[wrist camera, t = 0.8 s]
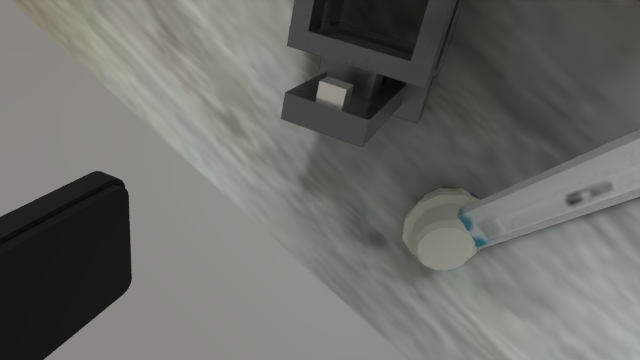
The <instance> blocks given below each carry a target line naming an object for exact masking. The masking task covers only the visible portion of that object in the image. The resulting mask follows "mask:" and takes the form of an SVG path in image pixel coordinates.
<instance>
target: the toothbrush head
mask: <svg viewBox="0 0 640 360" xmlns="http://www.w3.org/2000/svg"><path fill="white" fill-rule="evenodd" d="M637 197H640V129H638V130H636V131H634V132H631V133H629V134H627V135H625V136H622V137H620V138H618V139H616V140H613V141H611V142H609V143H607V144H605V145H602V146H600V147H598V148H596V149H593V150H591V151H589V152H587V153H584V154H582V155H580V156H578V157H575V158H573V159H571V160H569V161H566V162H564V163H562V164H560V165H557V166H555V167H553V168H551V169H549V170H546V171H544V172H542V173H540V174H537V175H535V176H533V177H531V178H528V179H526V180H524V181H522V182H519V183H517V184H515V185H513V186H510V187H508V188H506V189H504V190H501V191H499V192H497V193H495V194H493V195H490V196H488V197H486V198H484V199H481V200H479V199H478V198H477V196H476V195H474V194H472V193H470V192H468V191H466V190H464V189H462V188H442V187H440V188H438V189H436V190H434V191H431V192H429V193H427V194H425V195H424V197H423V198H422V199H421V200H420V201H418V202H417V203H416V205H415V206H414V207H413V208H412V209H411V211H410V212H409V213H408V214H407V215H406V217H405V220H404V228H403V236H402V239H403V241H404V243H405V244H406V246H407V248H408V249H409V251H410V253H411V254H412V255H414V256H416V257H418V259H419V261H420V262H421V263H422V264H424V265H426V266H428V267H430V268H432V269H433V270H446V271H449V270H452V269H454V268H457V267H460V266H462V265H464V264H465V263H466V262H467V261H468V260H469V259H470V258H471V257H473V256H474V255H475V254H476V253H477V252H478V251H479V250H480V249H482V248H485V247H488V246H491V245H494V244H497V243H500V242H503V241H506V240H510V239H513V238H516V237H519V236H522V235H525V234H528V233H531V232H534V231H537V230H540V229H543V228H546V227H549V226H552V225H555V224H558V223H561V222H564V221H567V220H570V219H573V218H576V217H579V216H582V215H585V214H589V213H592V212H595V211H598V210H601V209H604V208H607V207H610V206H613V205H616V204H619V203H622V202H625V201H628V200H631V199H634V198H637Z"/></svg>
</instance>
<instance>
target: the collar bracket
mask: <svg viewBox="0 0 640 360" xmlns="http://www.w3.org/2000/svg"><path fill="white" fill-rule="evenodd" d="M462 2H463V0H429V1H428V5H427V8H426V11H425V15H424V18H423V22H422V25H421V28H420V32H419V35H418V39H417V42H416V44H414V43H411V42H407V41H404V40H400V39H397V38H393V37H390V36H386V35H382V34H379V33H375V32H372V31H368V30H365V29H361V28H358V27H354V26H351V25H347V24H344V23H340V18H341V14H342V9H343V4H344V0H294V7H293V13H292V19H291V25H290V31H289V37H288V43H287V46H289V47H293V48H296V49H299V50H302V51H306V52H309V53H312V54H315V55H319V56H322V57H321V62H320V67H319V72H318V76H317V77H315V78H313V79H311V80H309V81H307V82H305V83H303V84H301V85H299V86H297V87H295V88H293V89H291V90H289V91H287V92H285V98H284V103H283V109H282V115H281V119H283V120H286V121H288V122H291V123H294V124H297V125H300V126H303V127H306V128H308V129H311V130H314V131H317V132H320V133H323V134H325V135H328V136H331V137H334V138H337V139H340V140H343V141H345V142H348V143H351V144H354V145H357V146H360V147H363V146H364V144H365V143H366V142H367V141H368V140H369V139H370V138H371V137H372V136H373V135H374V134H375V133H376V132H377V131H378V129H379V128H380V127H381V126H382V125H383V124H384V123H385V122H386V121H387V120H388V119H389V118H390V117H391V115H393V116H396V117H399V118H402V119H405V120H408V121H411V122H414V123H418V121H419V120H420V117H421V114H422V111H423V108H424V105H425V101H426V98H427V95H428V92H429V89H430V86H431V83H432V80H433V77H432V76H436V75H437V74H438V72H439V71H440V70H441V67H442V63H443V60H444V57H445V54H446V51H447V48H448V45H449V42H450V39H451V36H452V33H453V30H454V27H455V24H456V21H457V18H458V15H459V12H460V9H461V5H462Z"/></svg>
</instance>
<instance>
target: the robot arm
mask: <svg viewBox="0 0 640 360" xmlns="http://www.w3.org/2000/svg"><path fill="white" fill-rule="evenodd" d="M130 249H131V248H130V222H129V196H128V191H127V190H126V189H125V185H124V183H123V181H122V180H120V179H118V178H116V177H113V176H111V175H108V174H106V173H103V172H101V171H95V172H92V173H90V174H88V175H86V176H83V177H82V178H79V179H77V180H75V181H73V182H71V183H69V184H67V185H65V186H63V187H61V188H59V189H57V190H55V191H53V192H51V193H49V194H47V195H44V196H42V197H40V198H39V199H36V200H34V201H33V202H30V203H28V204H26V205H24V206H22V207H20V208H18V209H16V210H14V211H12V212H10V213H7V214H5V215H3V216H1V217H0V360H44V359H45V358H46V357H47V356H48V355H50V354H51V353H52V352H53V351H55V350H56V349H57V348H58V347H59V346H61V345H62V344H63V343H64V342H66V341H67V340H68V339H69V338H70V337H72V336H73V335H74V334H75V333H77V332H78V331H79V330H80V329H81V328H83V327H84V326H85V325H86V324H88V323H89V322H90V321H91V320H92V319H94V318H95V317H96V316H97V315H98V314H100V313H101V312H102V311H103V310H104V309H106V308H107V307H108V306H109V305H111V304H112V303H113V302H114V301H115V300H117V299H118V298H119V297H120V296H122V295H123V294H124V293H125V292H126V291H127V289H128V288H129V286H130V283H131V279H132V276H131V250H130Z"/></svg>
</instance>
